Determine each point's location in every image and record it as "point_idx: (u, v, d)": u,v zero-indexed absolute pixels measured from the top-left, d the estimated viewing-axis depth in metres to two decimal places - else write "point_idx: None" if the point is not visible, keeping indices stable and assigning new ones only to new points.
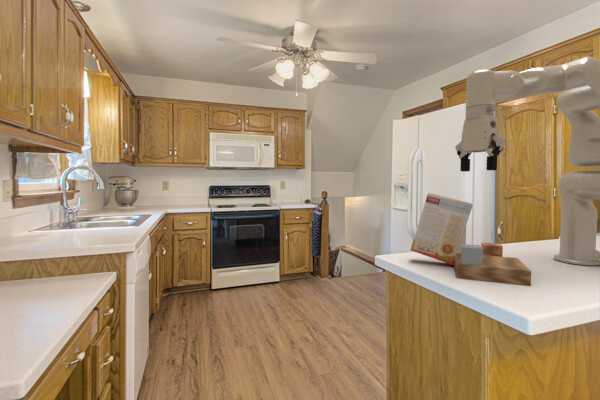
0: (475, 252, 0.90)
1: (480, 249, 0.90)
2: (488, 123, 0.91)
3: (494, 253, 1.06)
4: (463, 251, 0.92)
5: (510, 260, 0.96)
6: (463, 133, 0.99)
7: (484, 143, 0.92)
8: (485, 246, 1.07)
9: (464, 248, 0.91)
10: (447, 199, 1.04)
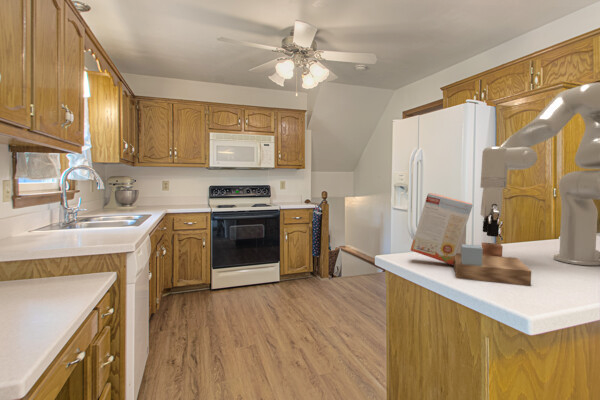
0: (475, 252, 0.90)
1: (480, 249, 0.90)
2: None
3: (494, 253, 1.06)
4: (463, 251, 0.92)
5: (510, 260, 0.96)
6: (501, 200, 1.03)
7: None
8: (485, 246, 1.07)
9: (464, 248, 0.91)
10: (447, 199, 1.04)
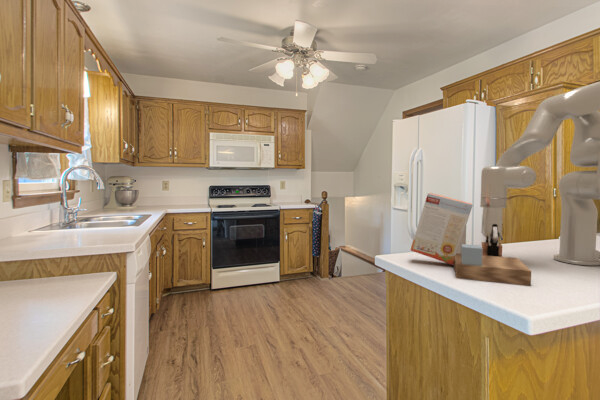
0: (475, 252, 0.90)
1: (480, 249, 0.90)
2: None
3: None
4: (463, 251, 0.92)
5: (510, 260, 0.96)
6: None
7: None
8: (484, 245, 1.07)
9: (464, 248, 0.91)
10: (447, 199, 1.04)
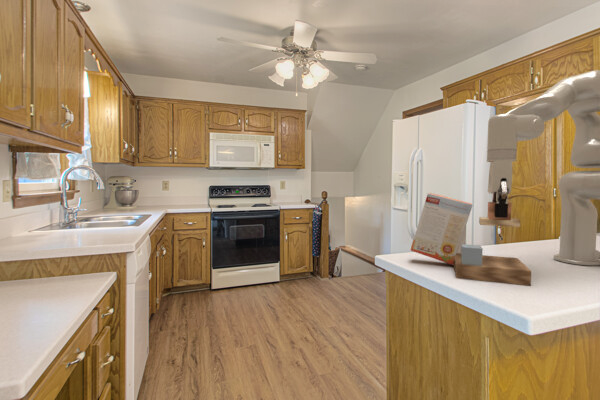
0: (475, 252, 0.90)
1: (480, 249, 0.90)
2: None
3: None
4: (463, 251, 0.92)
5: (510, 260, 0.96)
6: (511, 174, 0.92)
7: None
8: (491, 204, 0.95)
9: (464, 248, 0.91)
10: (447, 199, 1.04)
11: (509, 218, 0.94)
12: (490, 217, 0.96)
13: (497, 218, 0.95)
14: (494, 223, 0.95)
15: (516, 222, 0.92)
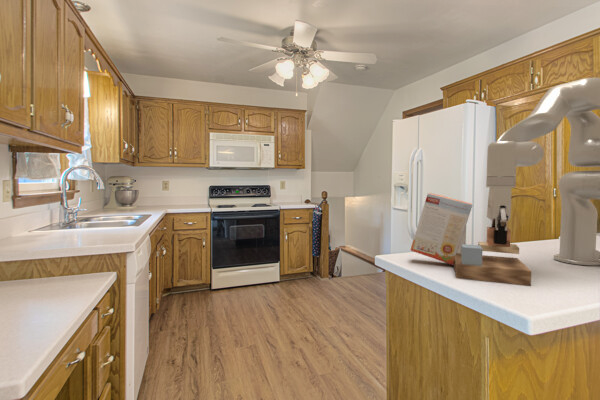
0: (475, 252, 0.90)
1: (480, 249, 0.90)
2: None
3: None
4: (463, 251, 0.92)
5: (510, 260, 0.96)
6: None
7: None
8: (491, 230, 0.96)
9: (464, 248, 0.91)
10: (447, 199, 1.04)
11: (508, 245, 0.94)
12: (489, 243, 0.96)
13: (496, 244, 0.95)
14: (493, 249, 0.95)
15: (515, 249, 0.93)
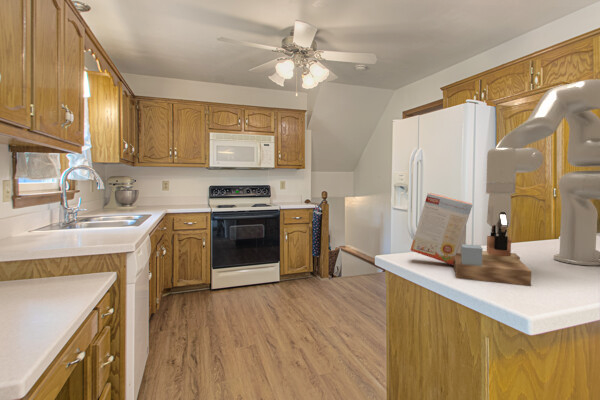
0: (475, 252, 0.90)
1: (480, 249, 0.90)
2: None
3: None
4: (463, 251, 0.92)
5: None
6: (510, 207, 0.92)
7: None
8: (491, 239, 0.96)
9: (464, 248, 0.91)
10: (447, 199, 1.04)
11: (509, 254, 0.94)
12: (490, 252, 0.96)
13: (497, 254, 0.95)
14: (494, 258, 0.95)
15: (516, 259, 0.93)
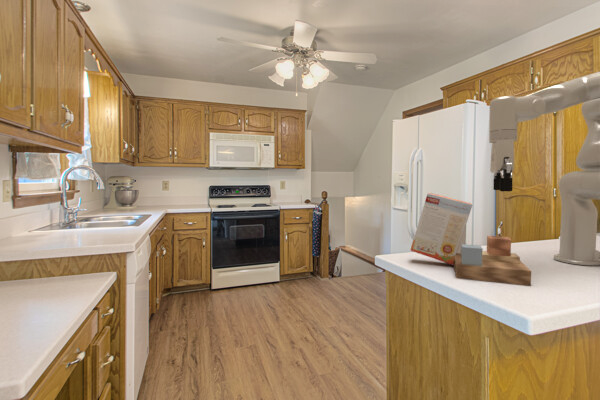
0: (475, 252, 0.90)
1: (480, 249, 0.90)
2: None
3: (502, 248, 0.95)
4: (463, 251, 0.92)
5: None
6: (513, 152, 0.97)
7: None
8: (491, 239, 0.96)
9: (464, 248, 0.91)
10: (447, 199, 1.04)
11: (509, 254, 0.94)
12: (490, 252, 0.96)
13: (497, 254, 0.95)
14: (494, 258, 0.95)
15: (516, 259, 0.93)
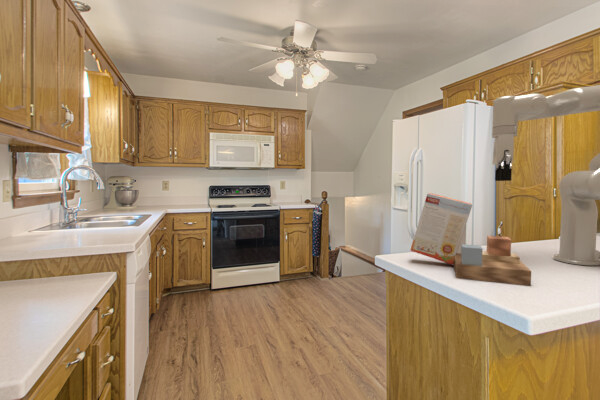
0: (475, 252, 0.90)
1: (480, 249, 0.90)
2: None
3: (502, 248, 0.95)
4: (463, 251, 0.92)
5: None
6: (513, 146, 1.09)
7: None
8: (491, 239, 0.96)
9: (464, 248, 0.91)
10: (447, 199, 1.04)
11: (509, 254, 0.94)
12: (490, 252, 0.96)
13: (497, 254, 0.95)
14: (494, 258, 0.95)
15: (516, 259, 0.93)
